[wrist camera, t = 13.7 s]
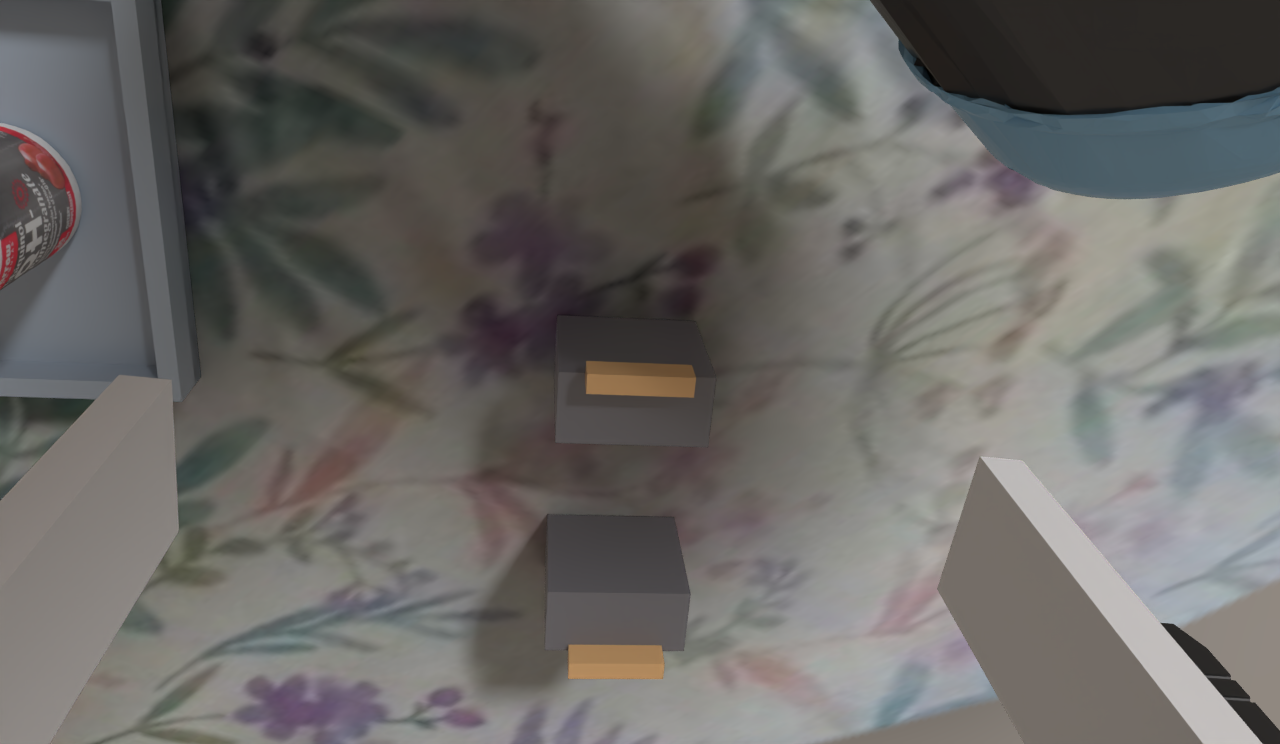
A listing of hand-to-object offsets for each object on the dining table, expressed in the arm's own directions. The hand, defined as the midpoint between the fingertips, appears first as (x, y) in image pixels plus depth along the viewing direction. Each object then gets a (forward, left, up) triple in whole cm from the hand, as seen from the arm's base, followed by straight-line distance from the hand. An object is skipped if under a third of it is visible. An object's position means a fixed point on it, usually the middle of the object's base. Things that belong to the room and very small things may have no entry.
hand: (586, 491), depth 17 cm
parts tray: (+2, -21, -26) cm, 34 cm away
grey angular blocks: (+13, +3, -26) cm, 30 cm away
